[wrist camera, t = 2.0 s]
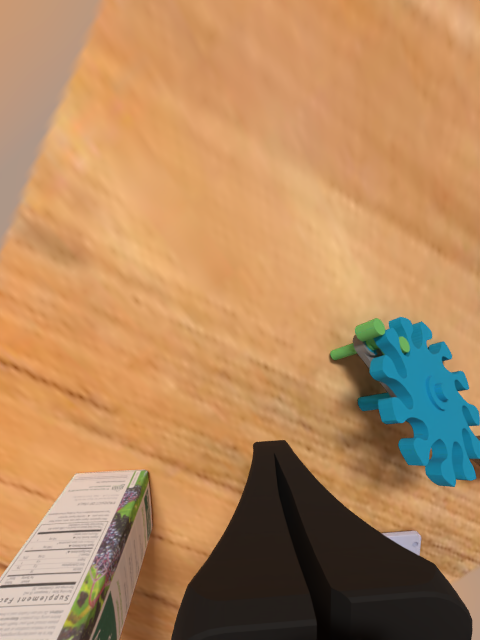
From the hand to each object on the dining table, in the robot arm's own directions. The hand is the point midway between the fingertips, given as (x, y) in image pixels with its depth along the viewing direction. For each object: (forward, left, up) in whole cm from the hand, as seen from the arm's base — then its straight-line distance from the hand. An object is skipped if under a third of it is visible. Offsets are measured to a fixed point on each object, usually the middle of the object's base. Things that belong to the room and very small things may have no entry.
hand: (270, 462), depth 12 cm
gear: (0, -10, -10) cm, 14 cm away
